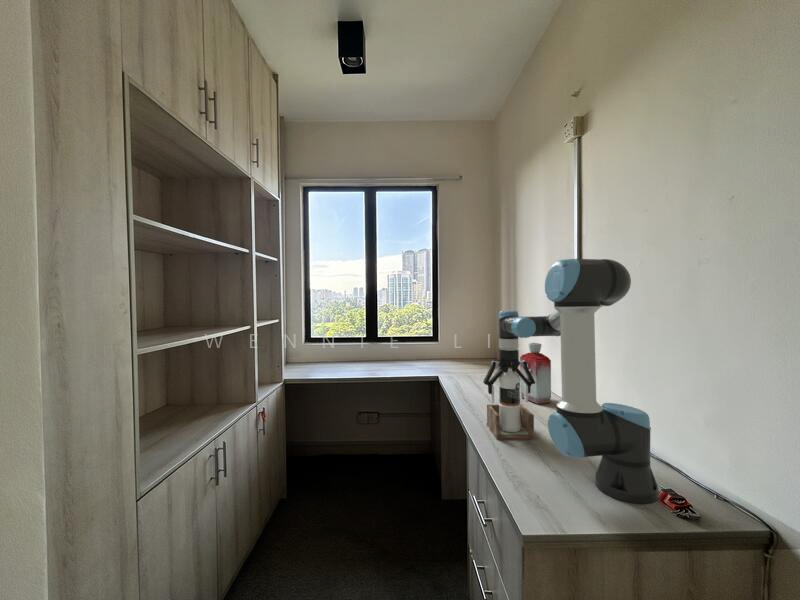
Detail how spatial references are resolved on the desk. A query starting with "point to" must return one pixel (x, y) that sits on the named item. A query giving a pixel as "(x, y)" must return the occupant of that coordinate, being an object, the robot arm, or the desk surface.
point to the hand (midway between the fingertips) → (509, 401)
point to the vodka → (509, 401)
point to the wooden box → (524, 433)
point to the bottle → (537, 375)
